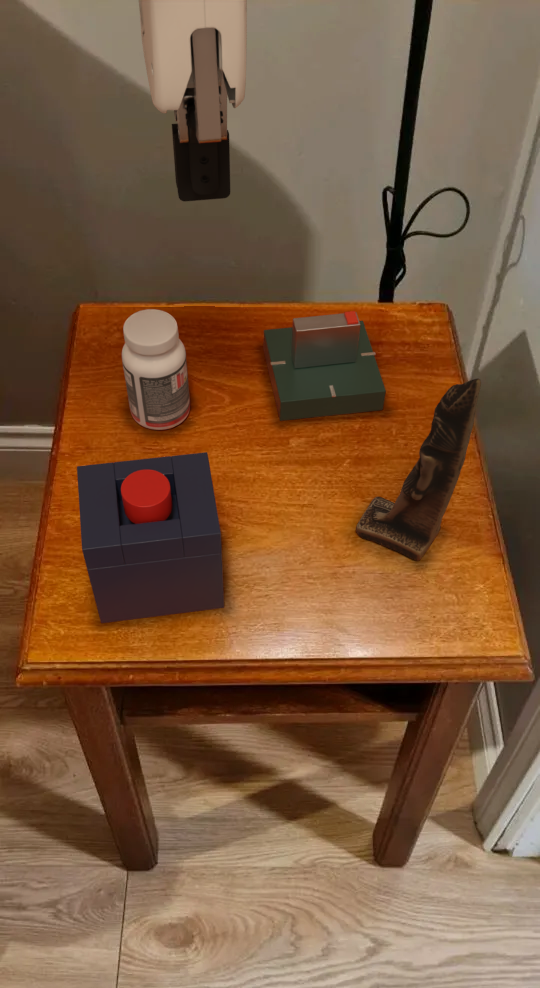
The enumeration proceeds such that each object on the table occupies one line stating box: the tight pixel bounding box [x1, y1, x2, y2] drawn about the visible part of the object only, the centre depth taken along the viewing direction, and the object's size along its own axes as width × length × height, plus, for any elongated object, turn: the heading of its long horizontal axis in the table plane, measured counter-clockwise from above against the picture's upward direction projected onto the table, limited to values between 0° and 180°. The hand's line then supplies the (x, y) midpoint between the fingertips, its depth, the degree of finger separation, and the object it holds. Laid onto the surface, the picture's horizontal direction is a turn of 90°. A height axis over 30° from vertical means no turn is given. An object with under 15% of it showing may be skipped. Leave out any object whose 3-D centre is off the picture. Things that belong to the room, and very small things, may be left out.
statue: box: [355, 378, 482, 562], centre depth 70 cm, size 4×7×20 cm, turn 62°
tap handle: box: [291, 310, 360, 368], centre depth 85 cm, size 6×2×5 cm, turn 100°
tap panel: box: [262, 320, 387, 422], centre depth 88 cm, size 10×10×3 cm
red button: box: [121, 469, 172, 524], centre depth 67 cm, size 4×4×2 cm
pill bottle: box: [121, 308, 191, 431], centre depth 82 cm, size 6×6×10 cm
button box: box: [76, 451, 225, 624], centre depth 72 cm, size 10×8×10 cm
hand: (203, 191), depth 56 cm, fingers closed
